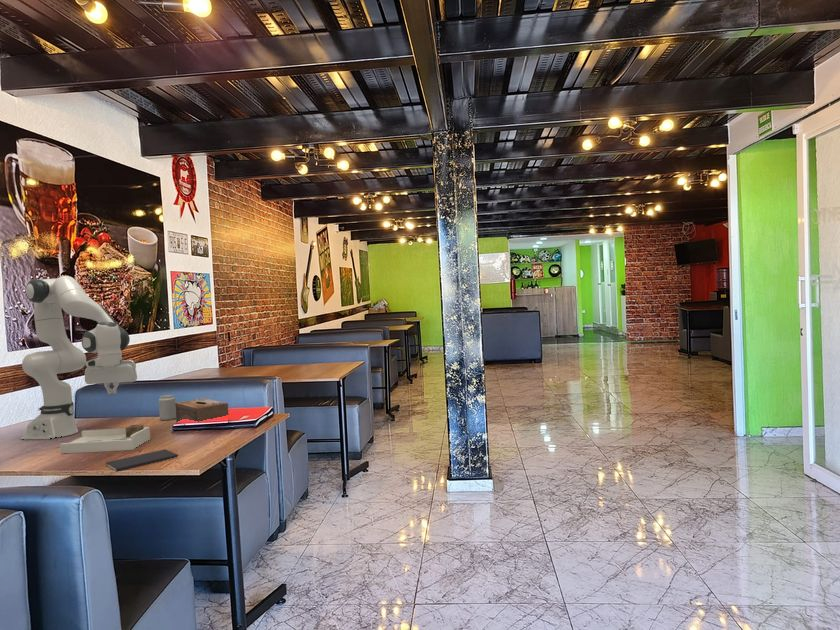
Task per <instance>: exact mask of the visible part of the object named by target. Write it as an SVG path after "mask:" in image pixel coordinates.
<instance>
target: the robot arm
mask: <svg viewBox="0 0 840 630" xmlns="http://www.w3.org/2000/svg"><path fill="white" fill-rule="evenodd" d="M25 295H26V298H27V299H28V300H29V301H30V302H32V303H34V305H33V306H34V309H33V316H34V317H33V318H34V327H35V332H36V338H37V339H38V340H39V341H40V342H42V343H45V344H48V345H49V346H50V347H51V348H52V350H41V351H36V352H31V353H29V354H26V355H25V356H23V357H24V358H23V359H22V362H21V367H22V371H23V373H24V374H26V375H28V376H29V377H31V378H33V379H34V380H35V381H36V382H37V383H38V385H39V387H40V389H41V392H42V393H41V394H42V398H43V405H42V406H41V407H38V410H37V411H40V413H39V415H37V416H36V417H35V418H34V419H33V420H31V421H30V422H29V423H28V424H27V426H26V433H25V434H23V435H21V436H20V440H22V439H24V440H51V439H50V438H52V439H56V438H55V437H57V438H62V437H67V436H71V435H75V434H77V433H79V429H78V427H77V424H76V419H75V415H74V414H75V405H74V401H73V393H72V392H73V391H72V387H71V385H70V384H69V383H68V382H65V381H62V380H59V378H58V375H59V374H65V373H72V372H76V371H79V370H81V369H83V368H84V367H86V368H85V370H84V382H85V383H86V384H87V385H94V384H95V385H97V384H103V387H104V388H105V389H106V391H107V394H108V395H110V394H111V395H113V394H118V393H117V392H118V391H117V389H118V387H119V386H120V383H134V382H136V381H137V379H138V375H137V370H136V368H137V367H136V362H135V361H134V360H132V359H126V360H125V359H123V357H122V356H123V355H122V354H123V353H122V352H123V351H125V349H126V348H127V347H128V345H129V343H130V336H129V335H130V334H129V333H128V332H127V331H126V329H124V327H122V326H121V325H119V323H118V322H117V321H116V320H115V319H114V317H113V316H111V314H110V313H109V312H108V310H107V309H106V308H105V307H104V306H103V305H102V304H100V303H98V302H96V301H95V300H93V299H92V298H91V297H90V296H89V295H88V294H87V293H86V291H85V290H84V289H83V287H82V286H81V284H80V282H79V281H78V280H77V279H75V278H74V277H72V276H69V275H64V276H63V275H62V276H60V277H58V278H55V277H53V278H42V279H40V278H36V279H31V280H29V281H28V283H27V284H26V285H25ZM63 311H64V312H65V314H67V315H69V316H73V317H75V318H84V319H89V320H92V321H94V322H95V321H96V323H97V324H96V326H95V328H92V329H91V330H88V331H86V332H84V333H83V335H82V337H81V345H82V346H81V347H82V348H83V350H84V351H86V353H90V354H91V353H92V354H95V353H97V357H96V358H93V359H90V360H87V355H86V354H85V352H84V351H83V350H82V349H80V348H78V347H77V346H75V345H74V344H73V343H72V342H71V341H70V339H69V338H68V335H67V331H66V327H65V321H64V316H63ZM111 384H113V388H111V387H110V386H111ZM61 436H62V437H61Z"/></svg>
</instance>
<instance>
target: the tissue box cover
mask: <svg viewBox="0 0 840 630" xmlns="http://www.w3.org/2000/svg"><path fill="white" fill-rule="evenodd" d="M175 407H176V417H175V420H176V423H177V422H178V421H180V420H182V419H189V420H194V421H198V422H199V421H203V420H207V419H213V418H217V417H222V416H226V415H229V404H228V402H224V401H219V400H215V399H210V398H208V397H207V398H206V397H201V398H197V399H190V400H183V401H179V402H175Z"/></svg>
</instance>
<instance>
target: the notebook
mask: <svg viewBox="0 0 840 630" xmlns="http://www.w3.org/2000/svg"><path fill="white" fill-rule="evenodd" d="M177 456H178V457H179V455H178V453H175V452H173V451H170V450H168V449H159V450H156V451H150V452H146V453H143V454H141V453H140V454H138V455H133V456H127V457H124V458H119V459H116V460H111V461H106V462H105V465H106V467H108V468H110V469H111V470H113V471H115V472H122V471H126V470H130V469H134V468H138V467H142V466H147V465H151V463H152V464H155V462H156V463H160V462H164V461H163V460H165V461H167V460H166V459H169V460H171V459H170V458H173V459H175V458H174V457H177ZM178 457H177V458H178ZM159 461H160V462H159Z"/></svg>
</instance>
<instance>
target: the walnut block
mask: <svg viewBox="0 0 840 630" xmlns="http://www.w3.org/2000/svg"><path fill="white" fill-rule="evenodd" d="M143 427H144V424H131V425H129V426H127V427H125V428H126V437H130V436H131V435H133V434H134V433H136V432H138V431H140V430H142V429H144V428H143Z"/></svg>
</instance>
